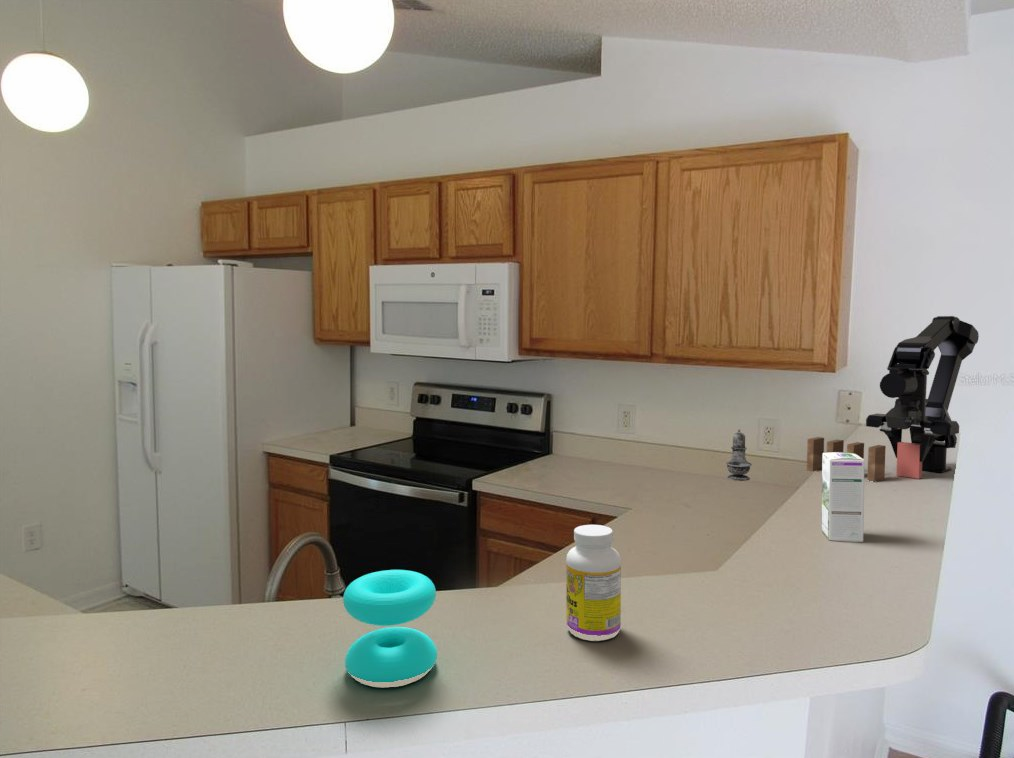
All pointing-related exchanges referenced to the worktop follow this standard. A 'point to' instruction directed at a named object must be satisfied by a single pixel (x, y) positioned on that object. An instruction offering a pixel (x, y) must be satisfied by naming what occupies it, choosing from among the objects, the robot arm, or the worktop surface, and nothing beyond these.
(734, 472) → the salt shaker
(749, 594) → the worktop surface
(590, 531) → the supplement bottle
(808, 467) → the domino
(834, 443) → the domino
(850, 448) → the domino
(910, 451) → the domino
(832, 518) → the syrup box
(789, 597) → the worktop surface
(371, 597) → the teal rings
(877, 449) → the domino
